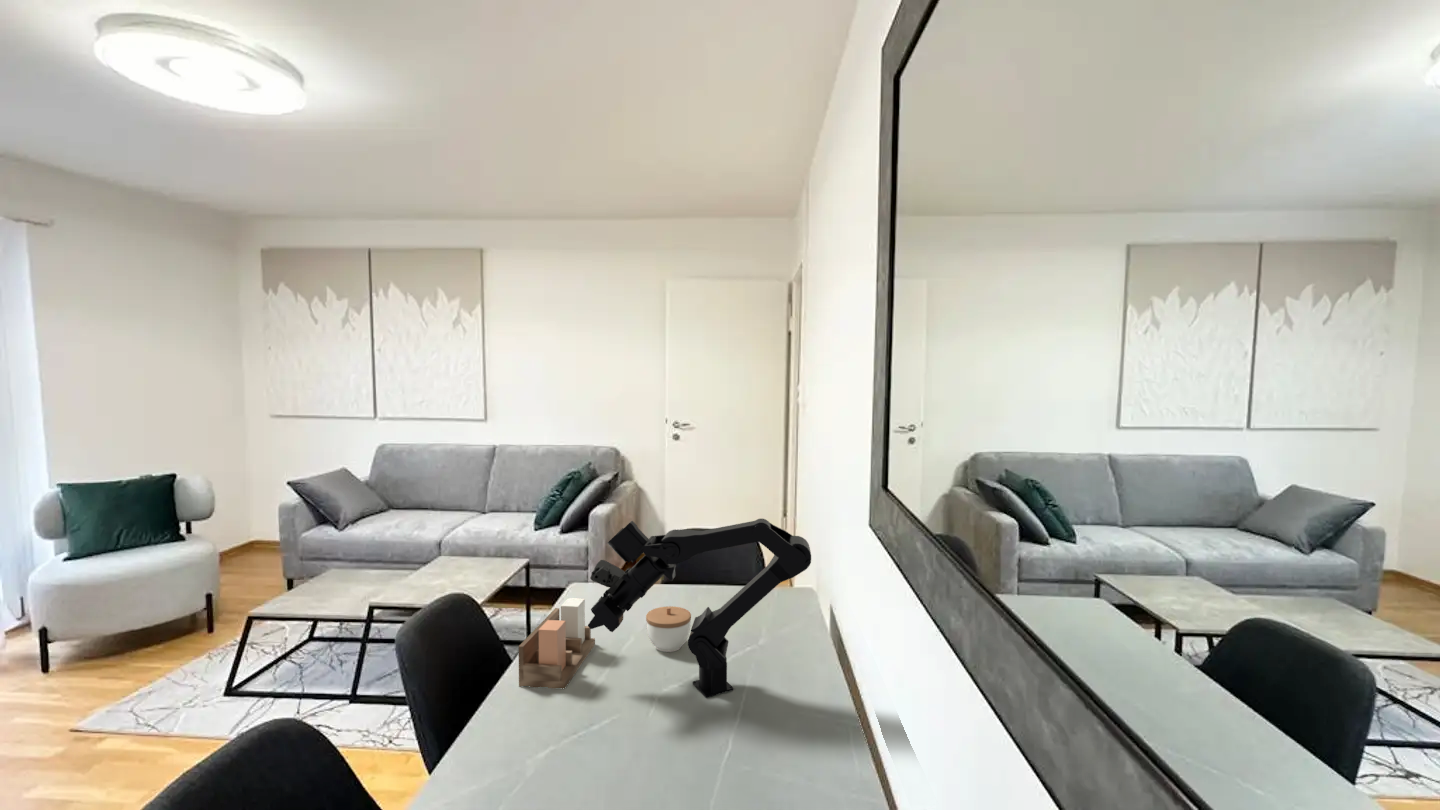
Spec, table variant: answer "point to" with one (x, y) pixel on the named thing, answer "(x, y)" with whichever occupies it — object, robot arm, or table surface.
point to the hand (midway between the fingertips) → (589, 626)
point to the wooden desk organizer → (545, 673)
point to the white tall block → (574, 617)
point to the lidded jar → (668, 627)
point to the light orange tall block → (552, 643)
